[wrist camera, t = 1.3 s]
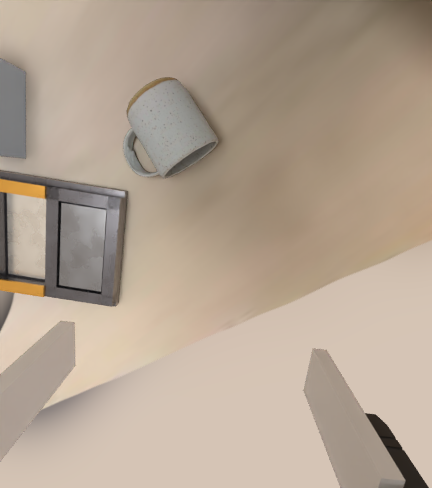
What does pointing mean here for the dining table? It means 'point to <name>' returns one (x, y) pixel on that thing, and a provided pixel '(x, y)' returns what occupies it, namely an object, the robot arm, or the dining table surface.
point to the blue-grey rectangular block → (12, 110)
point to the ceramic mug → (167, 128)
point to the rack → (61, 238)
